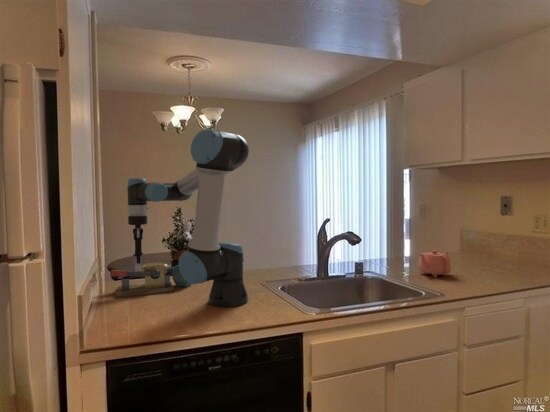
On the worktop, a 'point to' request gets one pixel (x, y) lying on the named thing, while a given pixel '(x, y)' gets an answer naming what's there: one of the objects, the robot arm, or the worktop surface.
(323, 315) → the worktop surface
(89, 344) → the worktop surface
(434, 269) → the teapot
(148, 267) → the valve
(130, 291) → the mount board
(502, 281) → the worktop surface
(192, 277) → the robot arm
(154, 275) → the lever
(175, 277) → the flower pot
